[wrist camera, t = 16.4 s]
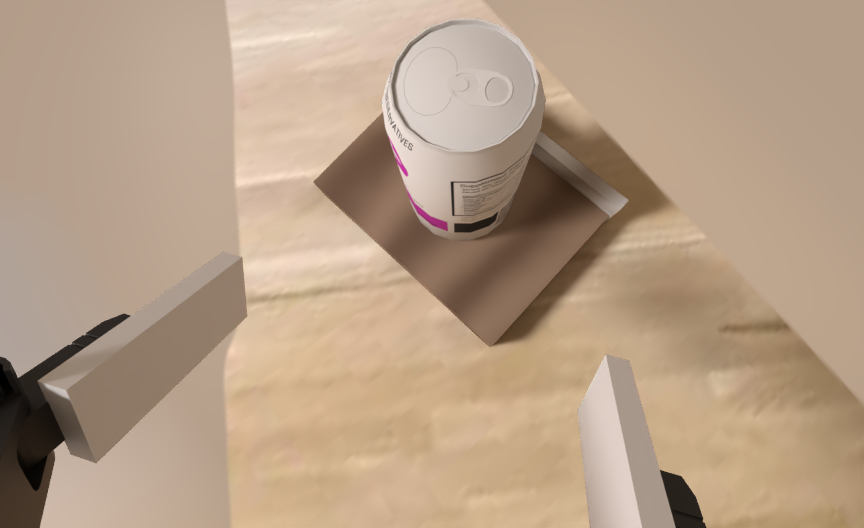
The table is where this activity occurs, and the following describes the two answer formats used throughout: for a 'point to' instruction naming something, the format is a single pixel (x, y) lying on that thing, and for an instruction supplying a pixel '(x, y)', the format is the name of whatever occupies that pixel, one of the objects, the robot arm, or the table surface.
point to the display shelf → (484, 256)
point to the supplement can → (463, 123)
